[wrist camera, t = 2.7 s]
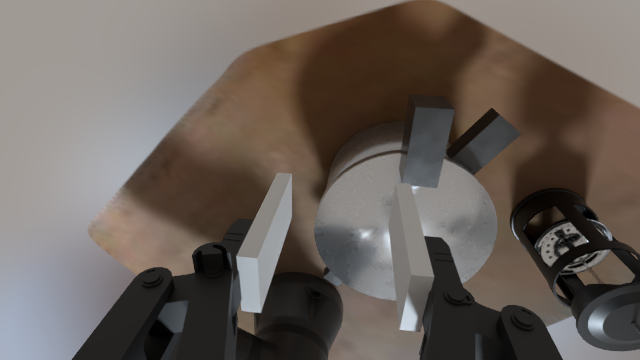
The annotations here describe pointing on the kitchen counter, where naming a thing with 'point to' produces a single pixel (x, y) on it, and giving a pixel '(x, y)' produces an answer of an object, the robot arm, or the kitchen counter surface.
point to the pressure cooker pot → (467, 151)
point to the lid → (430, 196)
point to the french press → (583, 268)
